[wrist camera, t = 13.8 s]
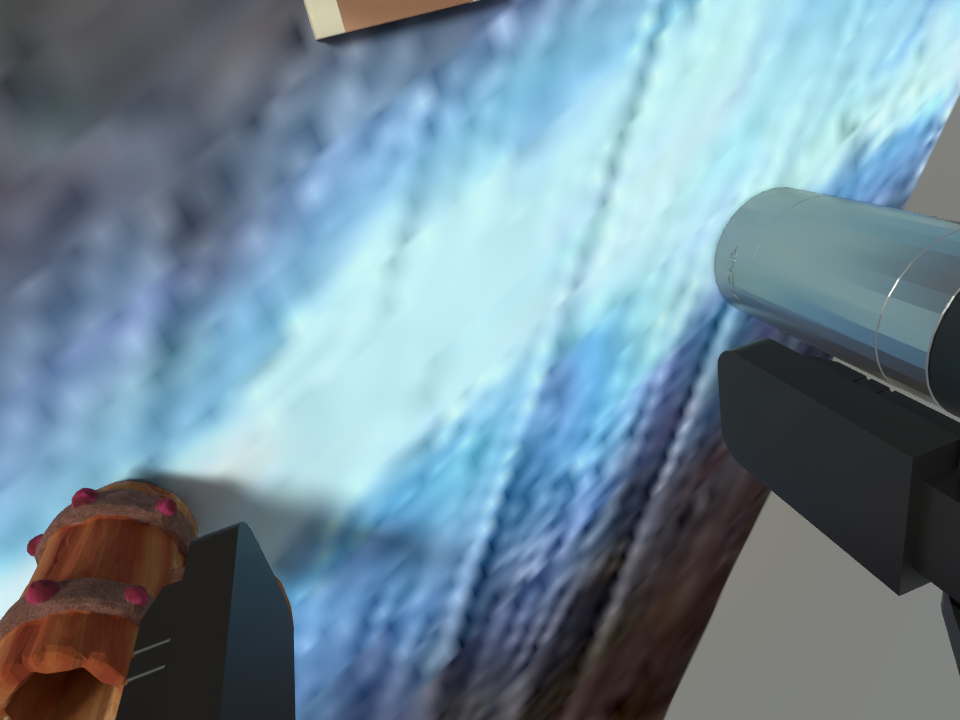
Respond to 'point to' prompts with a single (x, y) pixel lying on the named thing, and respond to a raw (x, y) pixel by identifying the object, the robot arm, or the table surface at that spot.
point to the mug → (90, 601)
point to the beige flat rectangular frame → (367, 13)
